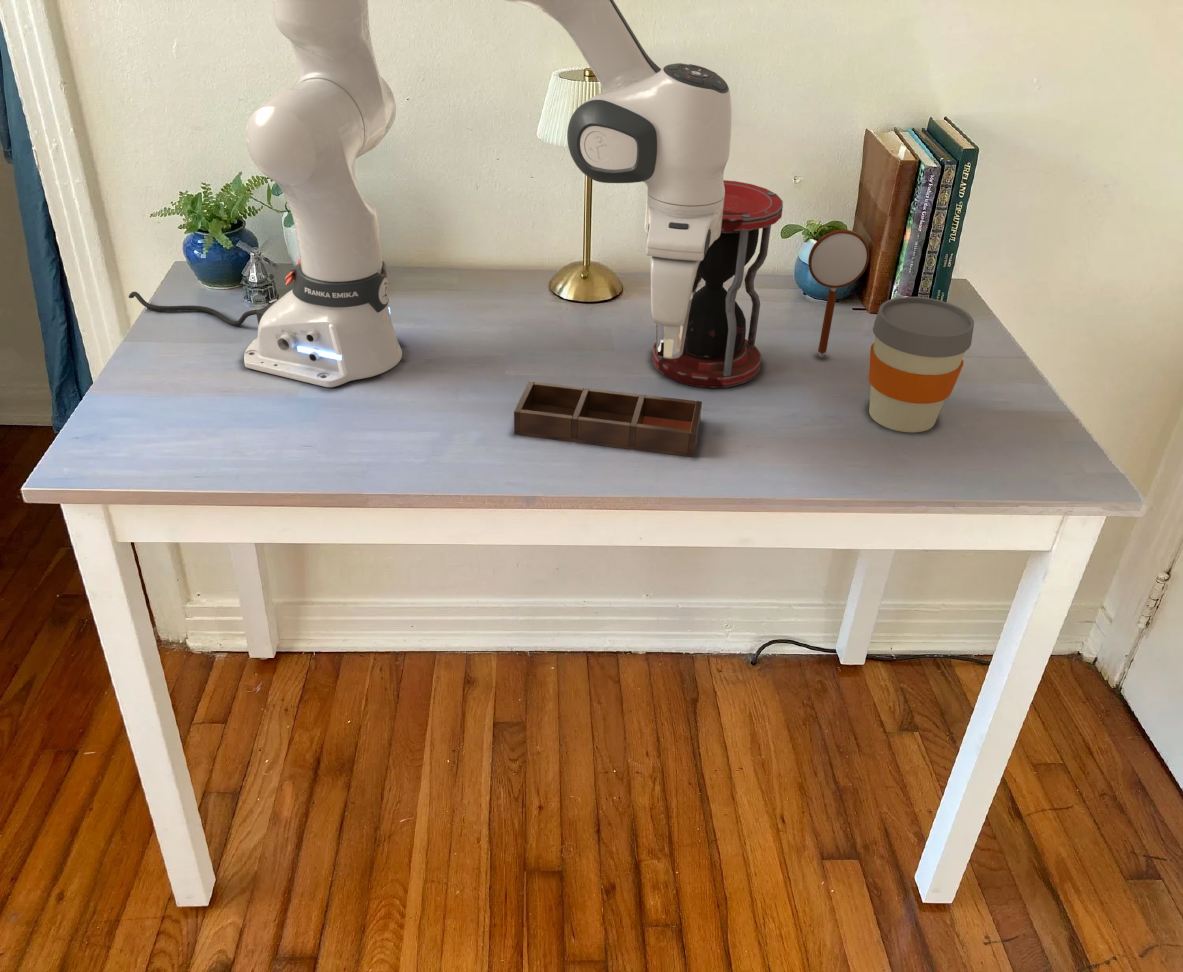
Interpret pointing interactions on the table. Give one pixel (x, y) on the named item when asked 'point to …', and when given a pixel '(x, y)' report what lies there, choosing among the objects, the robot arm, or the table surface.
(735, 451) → the table surface
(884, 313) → the reusable coffee cup
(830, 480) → the table surface
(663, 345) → the milkshake
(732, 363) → the hourglass
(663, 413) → the compartment tray
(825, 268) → the magnifying glass
